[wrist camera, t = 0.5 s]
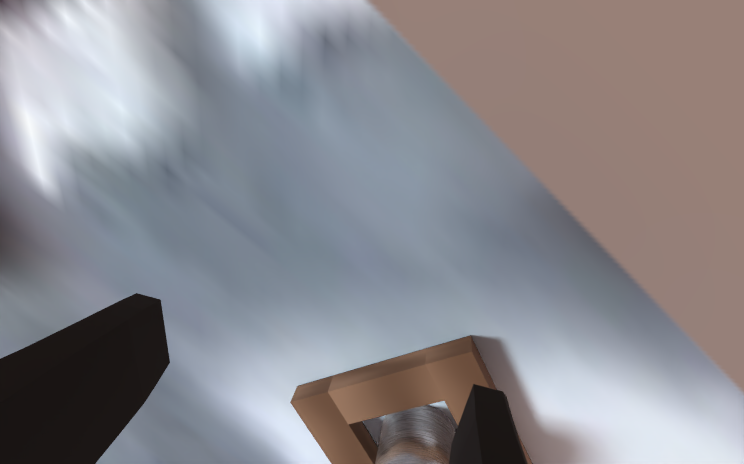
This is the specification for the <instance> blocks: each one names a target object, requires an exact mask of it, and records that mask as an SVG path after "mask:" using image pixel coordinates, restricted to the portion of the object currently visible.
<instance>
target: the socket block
mask: <svg viewBox="0 0 744 464" xmlns="http://www.w3.org/2000/svg"><path fill="white" fill-rule="evenodd" d="M473 384H476V385H480V386H483V387H487V388H491V389H495V390H497V389H496V387H495V385H494V383H493V381H492V379H491V377H490V375H489V373H488V371H487V369H486V366H485V364H484V362H483V360H482V358H481V356H480V354H479V352H478V350H477V348H476V346H475V344H474V341H473V339H472V337H471V336H467V337H464V338H460V339H457V340H454V341H450V342H447V343H443V344H440V345H437V346H433V347H430V348H426V349H423V350H419V351H416V352H413V353H409V354H406V355H402V356H399V357H395V358H392V359H389V360H385V361H382V362H378V363H375V364H372V365H368V366H365V367H361V368H358V369H354V370H351V371H348V372H344V373H341V374H337V375H334V376H330V377H327V378H324V379H320V380H317V381H313V382H310V383H306V384H303V385H300V386H297V388H296V391H295V393H294V395H293V398H292V400H291V402H290V403H291V404H292V405H293V407H294V408H295V410H296V411H297V413H298V414H299V416H300V417H301V419H302V420H303V422H304V423H305V425H306V426H307V428H308V429H309V431H310V432H311V434H312V435H313V437H314V438H315V440H316V441H317V443H318V444H319V446H320V447H321V449H322V450H323V452H324V453H325V455H326V456H327V458H328V459H329V460H330V462H331V463H332V464H375V462H376V457H377V451H378V447H377V445H376V444H375V442H374V441H373V439H372V437H371V436H370V434H369V433H368V431H367V429H366V428H365V426H364V424H363V423H362V421H364V420H368V419H372V418H376V417H380V416H384V415H388V414H392V413H396V412H400V411H404V410H408V409H412V408H416V407H420V406H424V405H428V404H432V403H436V402H440V401H445V403H446V404H447V406H448V408H449V410H450V412H451V414H452V416H453V418H454V419H455V421H456V423H457V425H458V424H459V422H460V419H461V416H462V414H463V411H464V408H465V405H466V403H467V400H468V397H469V395H470V392H471V389H472V387H473ZM517 434H518V433H517ZM518 437H519V435H518ZM519 440H520V443H521V446H522V449H523V451H524V454H525V457H526V460H527V463H528V464H532V462H531V460H530V458H529V456H528V454H527V452H526V450H525V448H524V446H523V443H522V441H521V439H520V437H519Z"/></svg>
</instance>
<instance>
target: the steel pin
mask: <svg viewBox="0 0 744 464" xmlns="http://www.w3.org/2000/svg"><path fill="white" fill-rule="evenodd" d="M454 435H455V430H454V426H453V424H452V422H451V421H450V419H449V418H448V417H447V416H446V415H445V414H444V413H442V412H441V411H439V410H438V409H436V408H434V407H431V406H428V405H424V406H420V407H416V408H412V409H408V410H404V411H400V412H396V413H392V414H388V415H386V416H385V417H384V419H383V422H382V428H381V434H380V439H379V445H378V451H377V457H376V462H375V464H449V459H450V451H451V443H452V441H453V438H454Z"/></svg>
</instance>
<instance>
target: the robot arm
mask: <svg viewBox="0 0 744 464" xmlns="http://www.w3.org/2000/svg"><path fill="white" fill-rule="evenodd" d="M169 363H170V360H169V353H168V347H167V340H166V333H165V326H164V320H163V313H162V306H161V300H160V299H156V298H152V297H149V296H145V295H141V294H137V293H136V294H134V295H132V296H130V297H128V298H125V299H123V300H121V301H119V302H117V303H115V304H113V305H111V306H109V307H107V308H105V309H103V310H101V311H99V312H97V313H95V314H93V315H91V316H89V317H87V318H85V319H83V320H81V321H79V322H77V323H75V324H73V325H70V326H68V327H66V328H64V329H62V330H60V331H58V332H56V333H54V334H52V335H50V336H48V337H46V338H44V339H42V340H40V341H38V342H36V343H34V344H32V345H30V346H27V347H25V348H23V349H21V350H19V351H17V352H14V353H12V354H10V355H8V356H6V357H3V358H1V359H0V464H95V463H96V462H97V461H98V459H99V458H100V457H101V456H102V455H103V453H104V452H105V451H106V450H107V448H108V447H109V446H110V445H111V444H112V442H113V441H114V440H115V439H116V437H117V436H118V435H119V434H120V433H121V431H122V430H123V429H124V428H125V426H126V425H127V424H128V423H129V421H130V420H131V419H132V418H133V416H134V415H135V414H136V413H137V411H138V410H139V409H140V408H141V406H142V405H143V404H144V402H145V401H146V399H147V398H148V396H149V395H150V393H151V392H152V390H153V389H154V387H155V386H156V384H157V383H158V381H159V379H160V378H161V376H162V374H163V373H164V371H165V369H166V368H167V366H168V364H169ZM449 464H528V463H527V460H526V457H525V454H524V451H523V449H522V446H521V443H520V440H519V437H518V434H517V431H516V428H515V425H514V421H513V418H512V415H511V411H510V408H509V405H508V401H507V397H506V396H505V394H504V393H503V392H502V391H498V390H495V389H491V388H487V387H483V386H480V385H476V384H473V387H472V389H471V392H470V395H469V397H468V400H467V403H466V405H465V408H464V411H463V414H462V416H461V419H460V422H459V424H458V427H457V430H456V432H455V435H454V438H453V441H452V443H451V451H450V459H449Z"/></svg>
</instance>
